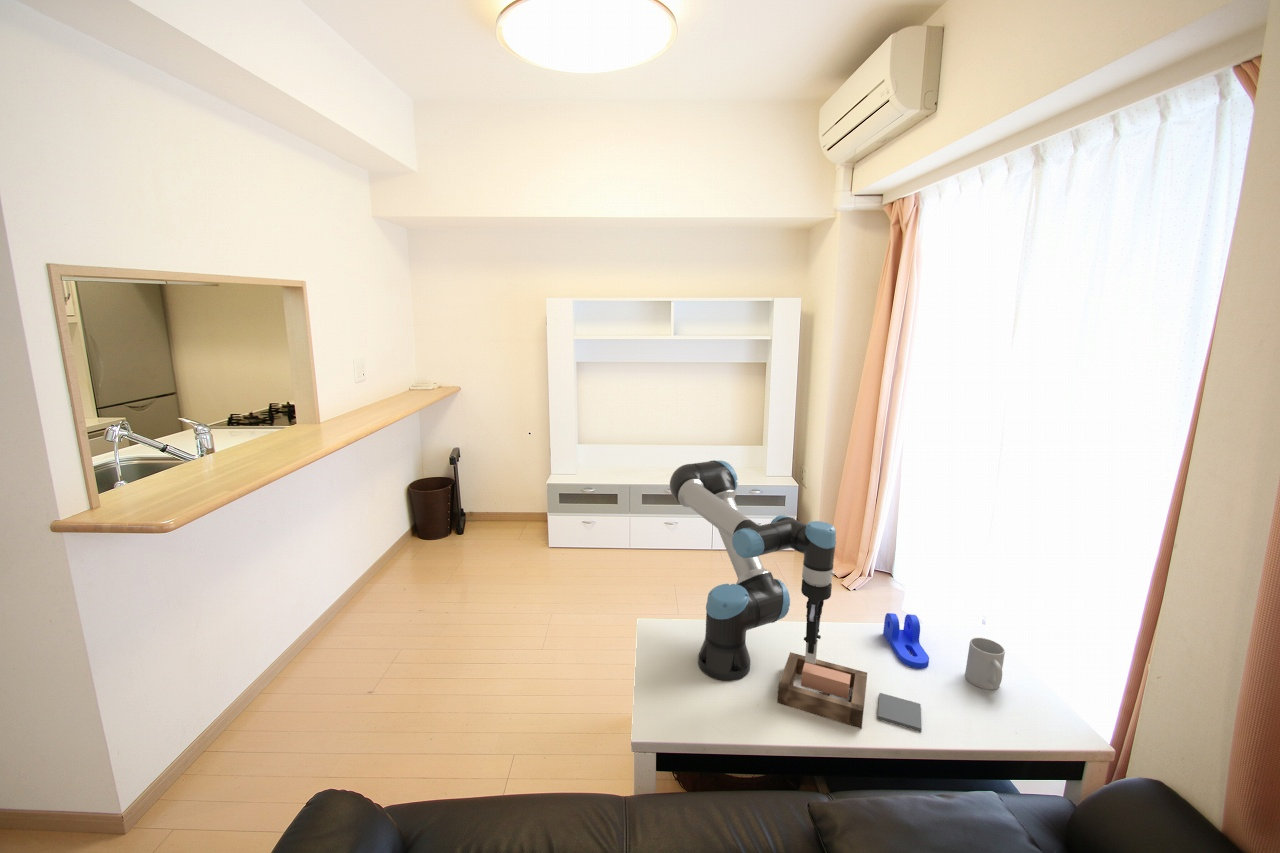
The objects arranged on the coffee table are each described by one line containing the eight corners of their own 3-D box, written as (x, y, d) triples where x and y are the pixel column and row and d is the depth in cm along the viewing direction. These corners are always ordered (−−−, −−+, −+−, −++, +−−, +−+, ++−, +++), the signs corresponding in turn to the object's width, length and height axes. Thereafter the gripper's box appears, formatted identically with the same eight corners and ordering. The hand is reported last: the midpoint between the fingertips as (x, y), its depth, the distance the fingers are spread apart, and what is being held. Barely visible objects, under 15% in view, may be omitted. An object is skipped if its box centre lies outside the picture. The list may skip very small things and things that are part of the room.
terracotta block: (801, 685, 149) (802, 671, 148) (803, 676, 153) (804, 662, 152) (847, 699, 144) (849, 684, 143) (849, 689, 148) (850, 674, 147)
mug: (959, 670, 162) (964, 636, 159) (989, 672, 161) (994, 638, 159) (980, 697, 150) (986, 661, 148) (1013, 699, 149) (1019, 663, 147)
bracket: (883, 634, 180) (885, 609, 178) (909, 635, 179) (912, 610, 177) (904, 668, 162) (907, 640, 160) (933, 670, 161) (937, 642, 160)
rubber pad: (877, 719, 141) (878, 715, 141) (879, 695, 150) (879, 692, 149) (921, 732, 137) (921, 728, 136) (920, 707, 145) (920, 703, 145)
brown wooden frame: (777, 702, 146) (778, 686, 145) (788, 667, 161) (790, 652, 160) (861, 728, 137) (863, 711, 136) (865, 688, 152) (867, 672, 151)
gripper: (828, 594, 137) (821, 679, 142) (834, 573, 149) (827, 652, 153) (798, 587, 140) (792, 670, 145) (806, 568, 152) (800, 645, 156)
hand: (810, 661), depth 149 cm, fingers closed
